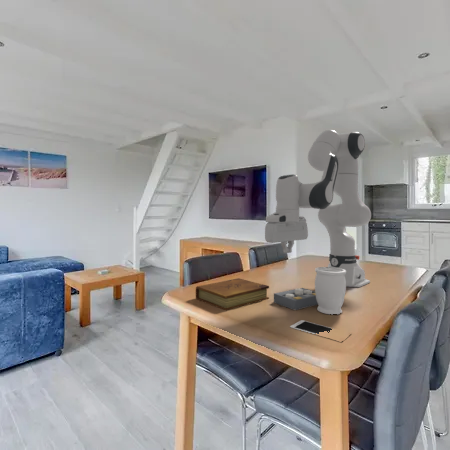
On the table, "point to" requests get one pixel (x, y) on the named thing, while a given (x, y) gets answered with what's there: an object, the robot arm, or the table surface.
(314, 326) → the cell phone
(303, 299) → the board
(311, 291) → the button
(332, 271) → the jar
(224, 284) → the diary
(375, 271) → the table surface
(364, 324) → the table surface
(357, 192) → the robot arm
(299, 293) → the button mid
